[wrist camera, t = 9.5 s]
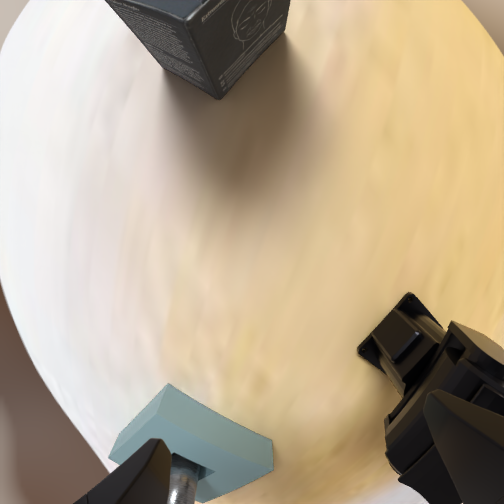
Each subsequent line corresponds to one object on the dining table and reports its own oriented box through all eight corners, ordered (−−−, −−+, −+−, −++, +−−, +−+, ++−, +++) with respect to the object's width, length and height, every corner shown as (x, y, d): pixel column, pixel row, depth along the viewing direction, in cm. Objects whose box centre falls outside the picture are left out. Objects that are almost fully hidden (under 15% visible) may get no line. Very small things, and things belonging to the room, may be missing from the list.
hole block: (271, 440, 23) (273, 469, 20) (206, 478, 25) (202, 503, 22) (168, 383, 22) (156, 413, 18) (119, 433, 24) (107, 457, 20)
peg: (209, 442, 24) (198, 521, 14) (194, 452, 24) (180, 525, 14) (185, 429, 23) (165, 509, 13) (171, 440, 24) (150, 514, 14)
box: (225, 1, 15) (211, -92, 5) (286, 31, 16) (309, -66, 5) (159, 68, 16) (92, -9, 6) (219, 103, 17) (185, 21, 7)
